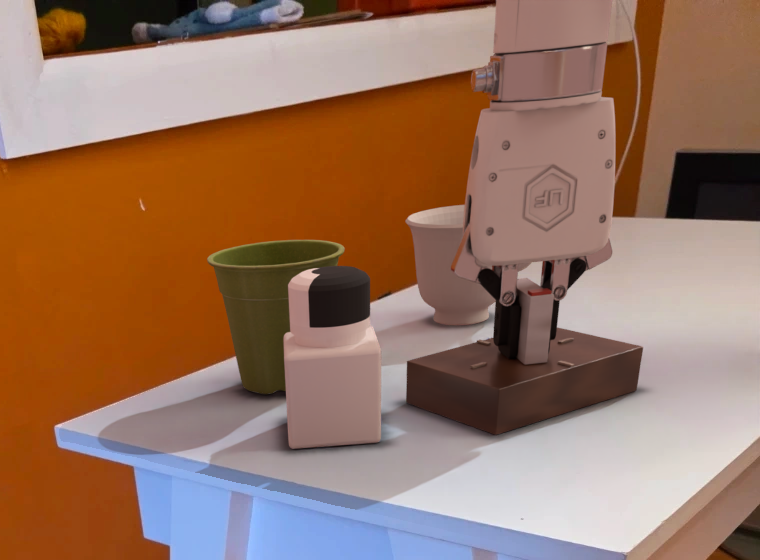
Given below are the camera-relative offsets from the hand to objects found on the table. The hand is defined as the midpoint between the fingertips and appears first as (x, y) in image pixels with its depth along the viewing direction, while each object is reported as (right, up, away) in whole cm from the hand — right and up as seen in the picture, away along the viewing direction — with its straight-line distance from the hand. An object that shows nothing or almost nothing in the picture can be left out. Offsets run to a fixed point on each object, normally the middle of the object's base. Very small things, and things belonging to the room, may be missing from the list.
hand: (523, 350), depth 77 cm
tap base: (0, -3, +2) cm, 4 cm away
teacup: (+2, +12, +23) cm, 26 cm away
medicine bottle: (-15, -7, 0) cm, 17 cm away
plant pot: (-19, +1, +11) cm, 22 cm away
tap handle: (0, 0, 0) cm, 0 cm away
